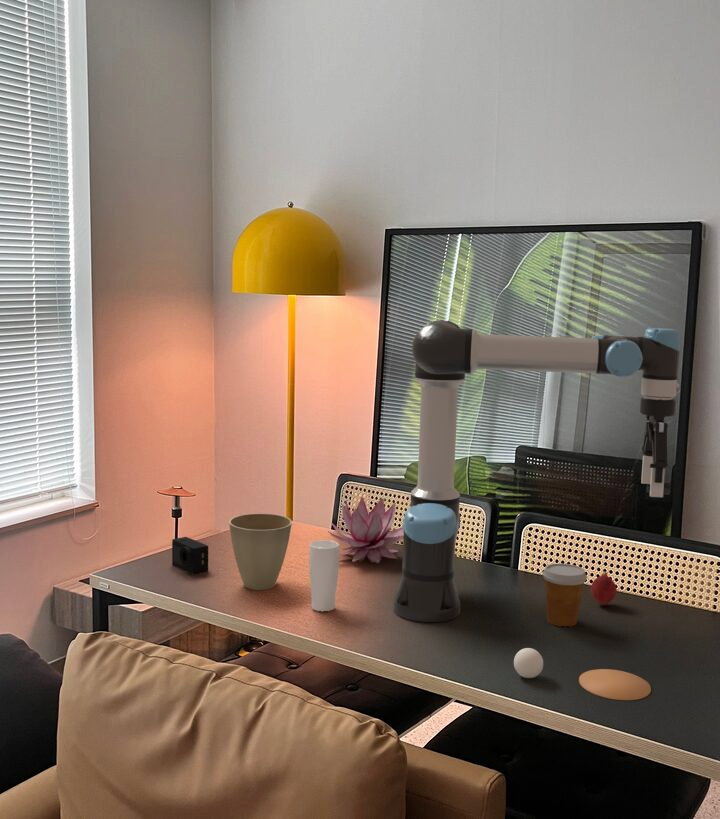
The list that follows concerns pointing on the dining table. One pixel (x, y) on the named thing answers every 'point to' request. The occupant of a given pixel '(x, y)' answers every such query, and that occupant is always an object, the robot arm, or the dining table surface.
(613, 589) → the red bumpy oval piece
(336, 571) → the drinking glass
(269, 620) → the dining table surface
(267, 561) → the plant pot
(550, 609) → the disposable coffee cup
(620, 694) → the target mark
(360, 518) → the decorative flower
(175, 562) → the digital camera
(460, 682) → the dining table surface
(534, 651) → the ball
